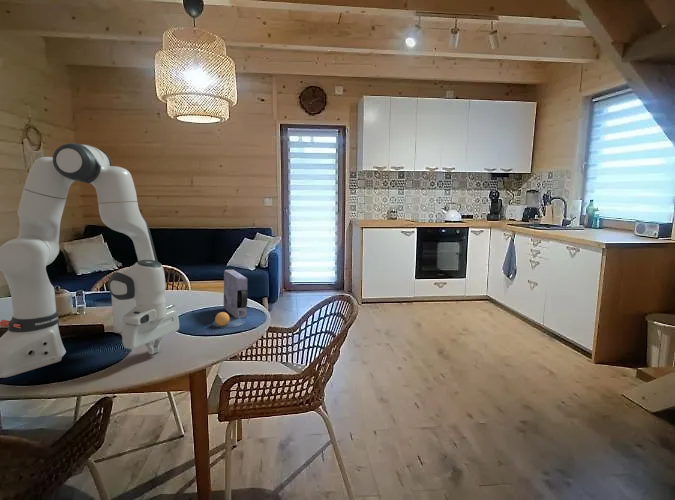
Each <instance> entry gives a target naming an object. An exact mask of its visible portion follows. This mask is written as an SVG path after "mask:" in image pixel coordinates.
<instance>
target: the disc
mask: <svg viewBox="0 0 675 500" xmlns="http://www.w3.org/2000/svg"><path fill="white" fill-rule="evenodd" d="M229 318H230V320H229V323H228V324H227V325H225V326H219V325H218V324H217V323H216V321H215V320H214V321H212V326H213V325H214V326H213V327H215V326H216V328H219V327H220V329H230V328H231V329H232V327H233V328H237V326H238V327H241V326H243V325H245V324H246V320H245V321H242V320H240V319H239V320H237V318H235V317H234V316H229ZM242 322H243V323H242ZM244 323H245V324H244ZM240 325H241V326H240Z"/></svg>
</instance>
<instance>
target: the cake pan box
mask: <svg viewBox="0 0 675 500" xmlns="http://www.w3.org/2000/svg"><path fill="white" fill-rule="evenodd" d="M248 296H249V295H248V278H247V277H246V276H244V275H242V274H241V273H239V272H238V271H236V270H235V269H224V271H223V309H225V310H226V311H227V312H228V313H229V314H230V315H231V316H232V317H235V318H237V319H239V318H242V319H246V318H245V317H247V316H248V315H247V314H248V312H247V311H248V310H247V306H248V298H249V297H248Z"/></svg>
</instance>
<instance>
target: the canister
mask: <svg viewBox="0 0 675 500" xmlns="http://www.w3.org/2000/svg"><path fill="white" fill-rule="evenodd" d="M111 306H112V321H113V332H114V333H118V334H122V329H123V326H124V324H126V323H124V322H123V321H122V318H123V316H124V315H125V314H127V313H128V312H130V311H131V310H132V309H133V308H134V307H136V300H135V299H128V300H119V299H116V298H115V297H114V296H112V295H111Z"/></svg>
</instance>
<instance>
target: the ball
mask: <svg viewBox="0 0 675 500" xmlns="http://www.w3.org/2000/svg"><path fill="white" fill-rule="evenodd" d="M229 317H230V315H229V314H228V313H227V312H225V311H221V312H218V313H217V314H216V316H215V318H214V321H216V323H217V324H218V325H219V326H225V325H227V324H228V323H229V320H230V318H229Z"/></svg>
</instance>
